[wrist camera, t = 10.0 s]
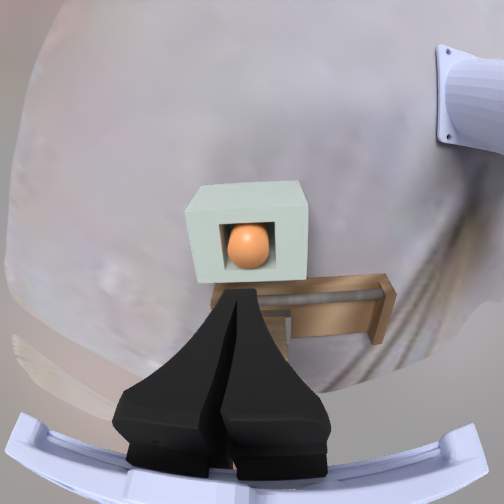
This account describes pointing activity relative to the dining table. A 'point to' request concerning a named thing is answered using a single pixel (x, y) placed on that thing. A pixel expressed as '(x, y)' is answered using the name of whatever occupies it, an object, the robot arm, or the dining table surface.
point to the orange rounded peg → (249, 244)
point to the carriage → (279, 328)
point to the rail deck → (326, 303)
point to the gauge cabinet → (248, 211)
